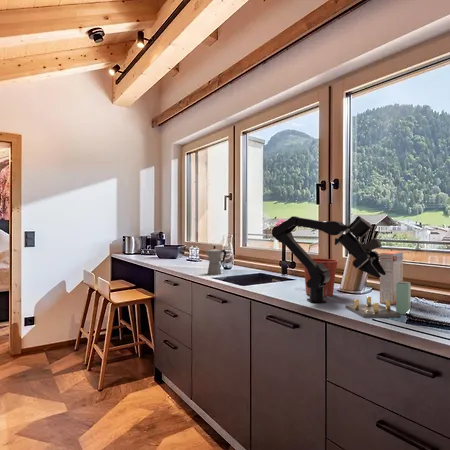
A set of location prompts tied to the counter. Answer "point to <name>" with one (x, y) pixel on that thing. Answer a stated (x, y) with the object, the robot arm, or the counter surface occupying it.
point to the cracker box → (390, 275)
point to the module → (403, 297)
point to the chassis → (372, 309)
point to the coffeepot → (215, 260)
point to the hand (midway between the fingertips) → (382, 275)
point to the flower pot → (332, 268)
